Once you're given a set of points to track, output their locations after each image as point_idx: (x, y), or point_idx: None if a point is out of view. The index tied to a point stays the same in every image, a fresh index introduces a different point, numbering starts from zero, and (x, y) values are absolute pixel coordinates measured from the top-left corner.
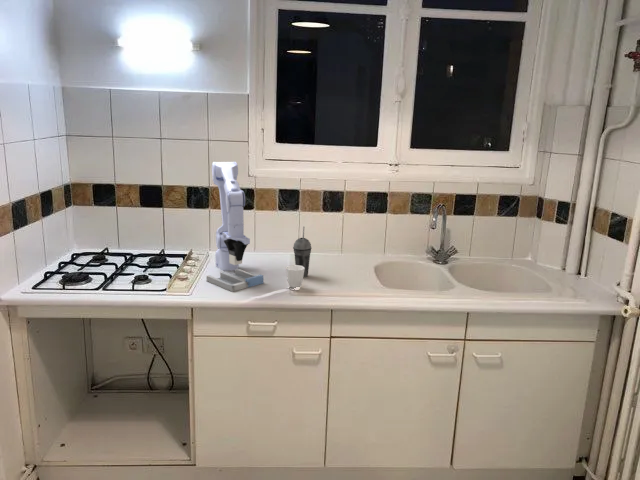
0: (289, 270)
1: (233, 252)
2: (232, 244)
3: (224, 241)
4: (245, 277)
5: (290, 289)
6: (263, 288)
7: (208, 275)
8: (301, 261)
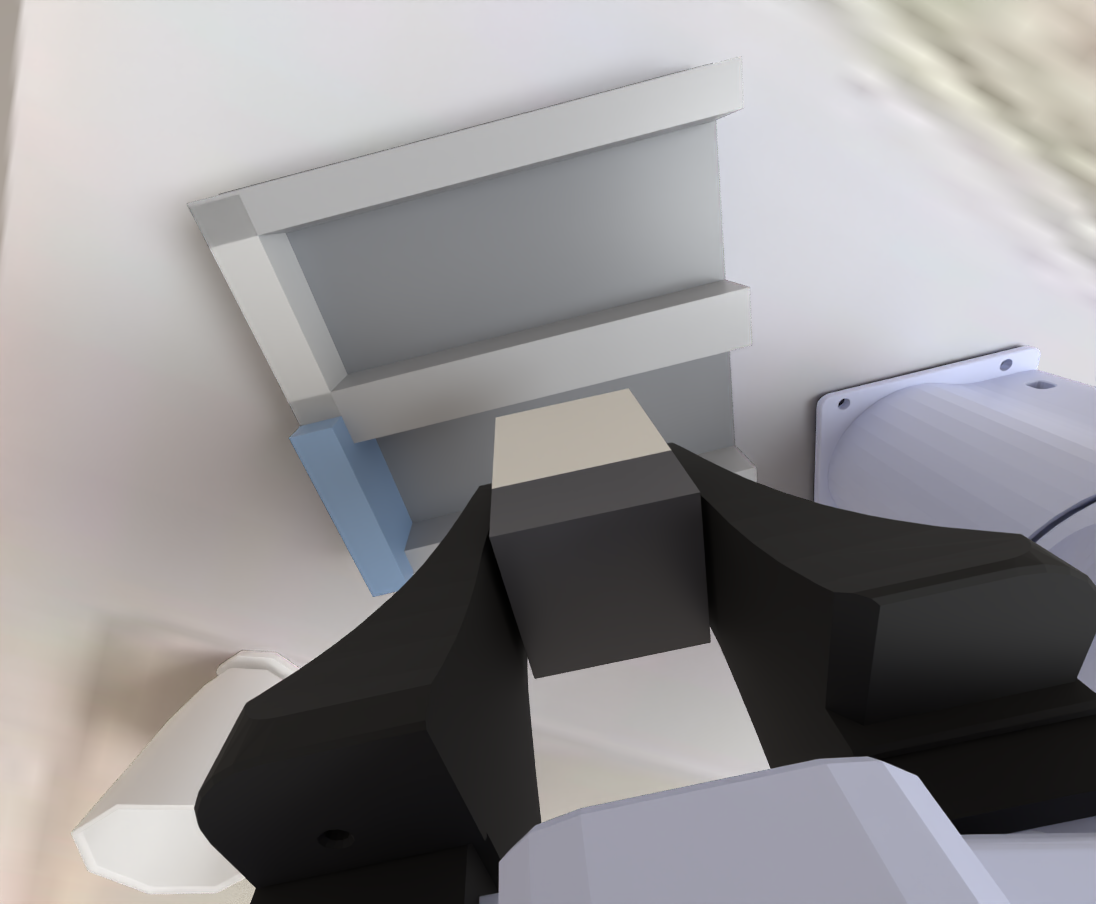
0: (111, 803)
1: (526, 519)
2: (768, 661)
3: (1006, 554)
4: None
5: (242, 651)
6: (328, 515)
7: (738, 92)
8: None
